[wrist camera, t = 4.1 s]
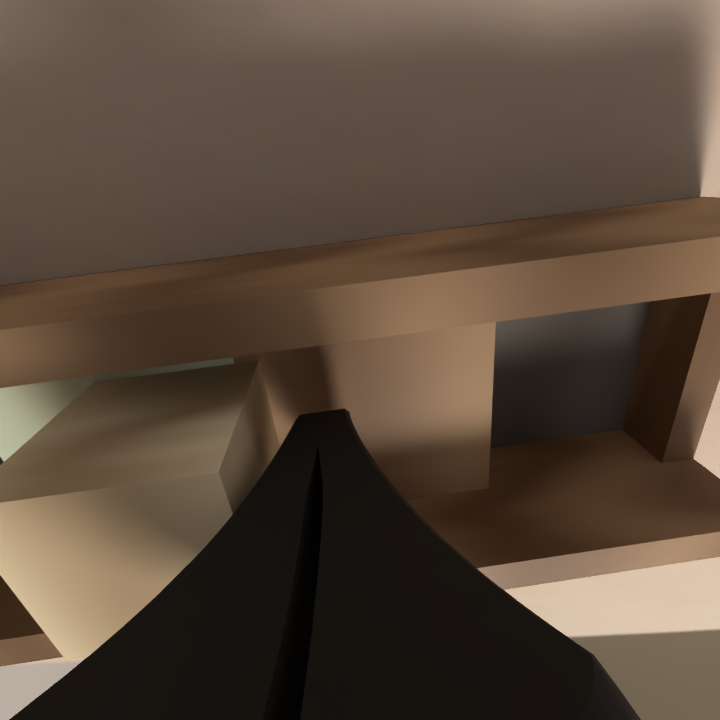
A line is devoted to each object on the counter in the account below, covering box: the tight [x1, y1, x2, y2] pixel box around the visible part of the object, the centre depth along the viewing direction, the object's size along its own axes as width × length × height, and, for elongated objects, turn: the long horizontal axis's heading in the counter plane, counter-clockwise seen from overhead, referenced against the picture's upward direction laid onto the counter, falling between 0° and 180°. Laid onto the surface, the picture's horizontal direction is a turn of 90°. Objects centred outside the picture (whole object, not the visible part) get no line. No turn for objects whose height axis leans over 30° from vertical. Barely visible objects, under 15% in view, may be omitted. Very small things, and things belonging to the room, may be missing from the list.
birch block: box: [0, 360, 280, 661], centre depth 9 cm, size 4×4×4 cm
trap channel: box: [0, 197, 720, 666], centre depth 10 cm, size 26×8×4 cm, turn 96°
